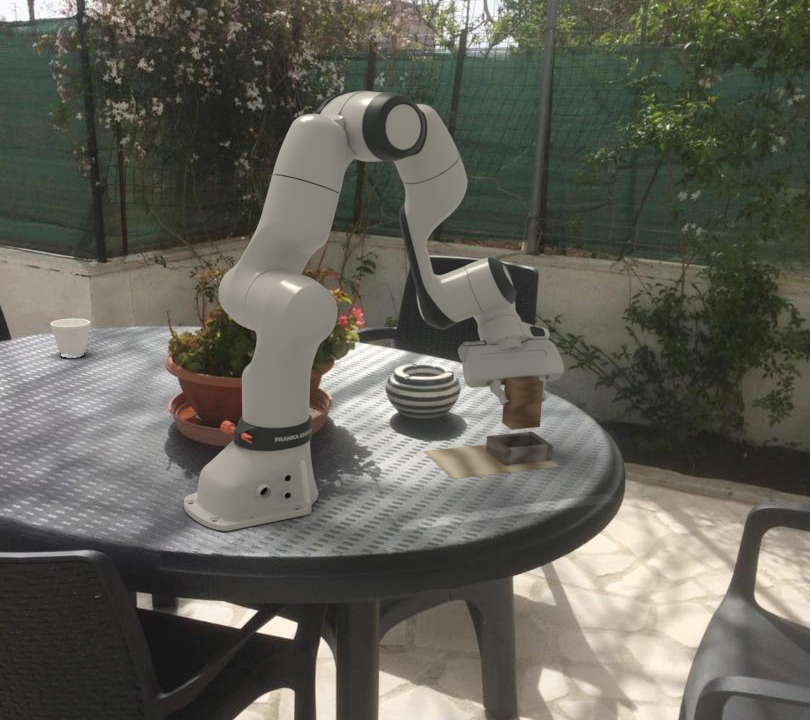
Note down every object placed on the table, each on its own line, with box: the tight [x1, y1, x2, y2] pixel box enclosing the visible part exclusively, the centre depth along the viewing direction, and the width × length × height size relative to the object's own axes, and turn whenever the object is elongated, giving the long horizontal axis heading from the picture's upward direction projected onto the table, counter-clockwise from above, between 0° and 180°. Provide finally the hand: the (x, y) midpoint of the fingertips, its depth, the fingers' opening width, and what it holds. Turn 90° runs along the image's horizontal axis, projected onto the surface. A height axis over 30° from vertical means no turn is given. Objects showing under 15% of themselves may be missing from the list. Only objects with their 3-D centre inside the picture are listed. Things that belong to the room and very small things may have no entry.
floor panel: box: [422, 431, 560, 480], centre depth 158 cm, size 22×14×4 cm, turn 110°
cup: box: [50, 318, 91, 355], centre depth 222 cm, size 10×10×9 cm
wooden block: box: [501, 376, 543, 431], centre depth 158 cm, size 6×4×9 cm, turn 110°
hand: (524, 402), depth 157 cm, fingers closed on wooden block, 6 cm apart
